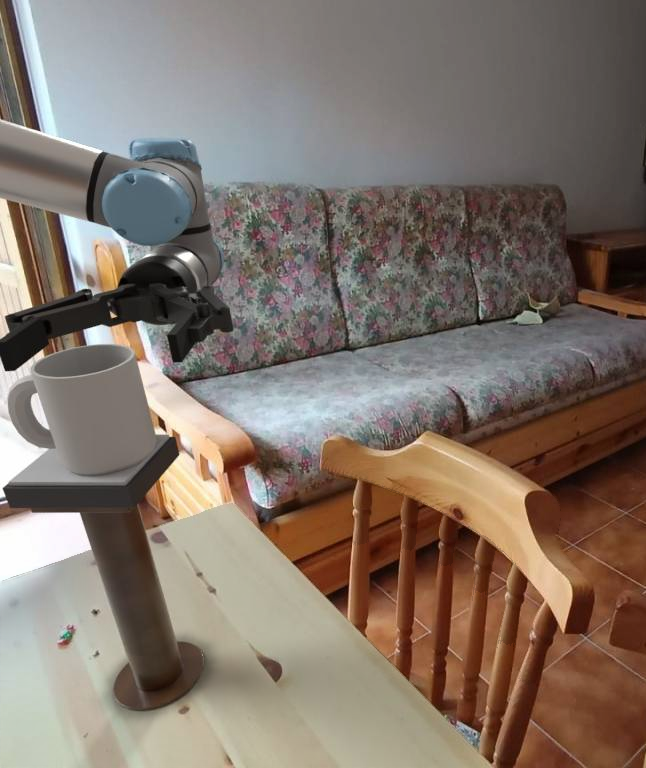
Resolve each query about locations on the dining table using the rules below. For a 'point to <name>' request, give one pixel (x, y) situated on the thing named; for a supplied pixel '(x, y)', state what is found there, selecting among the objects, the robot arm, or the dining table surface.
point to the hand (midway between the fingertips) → (91, 353)
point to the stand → (138, 610)
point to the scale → (88, 482)
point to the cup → (87, 408)
